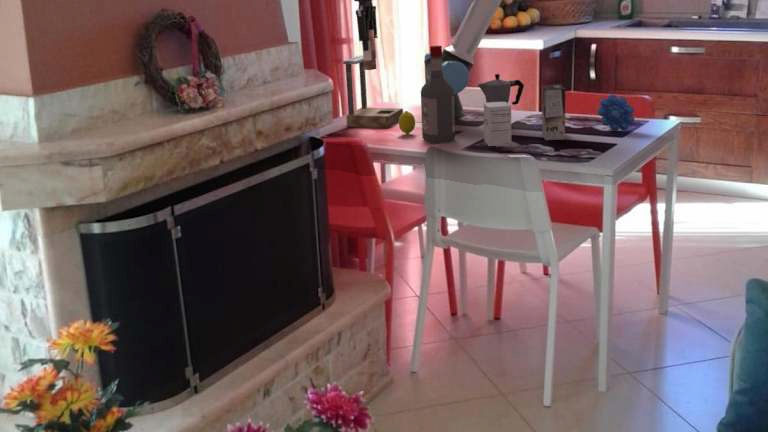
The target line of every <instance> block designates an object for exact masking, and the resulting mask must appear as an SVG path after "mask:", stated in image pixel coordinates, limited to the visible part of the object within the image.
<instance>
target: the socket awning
mask: <svg viewBox="0 0 768 432" xmlns="http://www.w3.org/2000/svg"><path fill="white" fill-rule="evenodd" d="M342 64H343V65H344V66H345V77H346V95H347V110H348V114H346V127H353V128H354V127H355V128H383V129H386V128H387V129H389V128H391V127H393V126H395V125H397V124H399V117H400V115H401V114H402V113H404V109H403V108H397V107H396V108H395V107H393V108H392V107H390V108H389V107H368V102H367V101H368V100H367V99H368V98H367V96H368V95H367V83H366V82H367V81H366V80H367V79H366V70H365V66H364V59H363V54H362V55H361V54H360V55H359V54H358V55H356V56H353V57H351V58H348V59H346V60H343V61H342ZM358 64H359V66H358V68H359V81H360V82H359V83H360V86H359V87H360V99H361V101H360V102H361V103H360V104H361V107H360V108H358V109H356V110H355V105H354V89H353V75H352V71H353V70H352V65H358Z"/></svg>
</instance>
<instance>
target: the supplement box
mask: <svg viewBox="0 0 768 432" xmlns="http://www.w3.org/2000/svg"><path fill="white" fill-rule="evenodd" d="M511 125H512V106H511V104H510V103H509V102H508V103H507V102H491V103H486V102H483V138H484V139H483V141H484V143H485V144H486V146H488V147H489V146H496V147H501V146H500V145H510V146H512V126H511Z"/></svg>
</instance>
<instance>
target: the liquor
mask: <svg viewBox="0 0 768 432" xmlns="http://www.w3.org/2000/svg"><path fill="white" fill-rule="evenodd" d="M442 46H443V45H430V46H429V50H430V51H429V53H430V56H431V75H430V78H429V80H428V81H427V82H426V83H424V85H423V86H422V87H421V89H420V107H421V131H422V132H421V133H422V134H421V136H422V139H423V141H424V142H427V143H429V144H442V143H443V144H445V143H450V142H449V141H451V142H453V141H454V140H455V138H456V123H455V122H456V121H455V112H454V89H453V87H452V86H451V85H450V84H449V82H448V81H447V80H446V79H445V78H444V77H443V73H442V57H441V56H442V52H443V49H442V48H443V47H442ZM452 140H453V141H452Z"/></svg>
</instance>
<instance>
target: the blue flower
mask: <svg viewBox="0 0 768 432" xmlns="http://www.w3.org/2000/svg"><path fill="white" fill-rule="evenodd" d="M599 104H600V107H598V108H597V110H596V111H597V114H598V116H600V117H601V119H600V121H601V123H602V125H604V126H606V127H607V126H609V128H610V130H611V131H613V132H617V131H619V130H621V131H628V130H629V125H631V124H634V123H635V117H634V115H633V114H634V111H635V109H634V107H633V105H631V104H628V99H626V97H624V96H620V97H617V95H615V94H613V93H611V94H609V95H608V97H607V98H604V97H603V98H601V99H600V101H599Z"/></svg>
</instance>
